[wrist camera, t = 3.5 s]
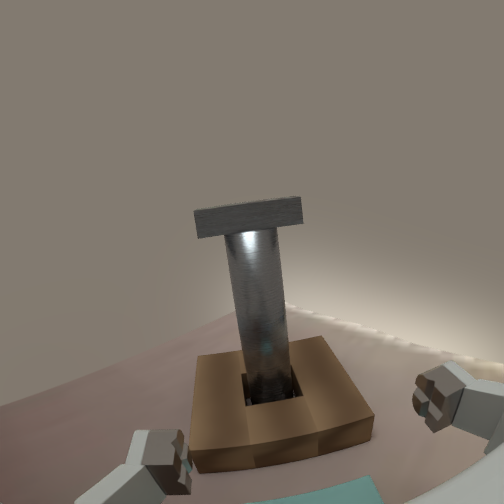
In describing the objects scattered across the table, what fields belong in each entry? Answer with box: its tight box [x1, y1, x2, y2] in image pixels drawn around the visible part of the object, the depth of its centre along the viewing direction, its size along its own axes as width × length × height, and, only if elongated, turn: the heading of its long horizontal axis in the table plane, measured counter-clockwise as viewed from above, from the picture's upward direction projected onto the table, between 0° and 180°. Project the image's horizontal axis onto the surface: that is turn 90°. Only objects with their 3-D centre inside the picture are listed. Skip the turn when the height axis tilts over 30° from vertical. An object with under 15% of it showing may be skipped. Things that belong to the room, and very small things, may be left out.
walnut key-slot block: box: [189, 336, 375, 473], centre depth 23 cm, size 13×13×3 cm
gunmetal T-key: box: [194, 196, 303, 405], centre depth 22 cm, size 7×4×18 cm, turn 96°
